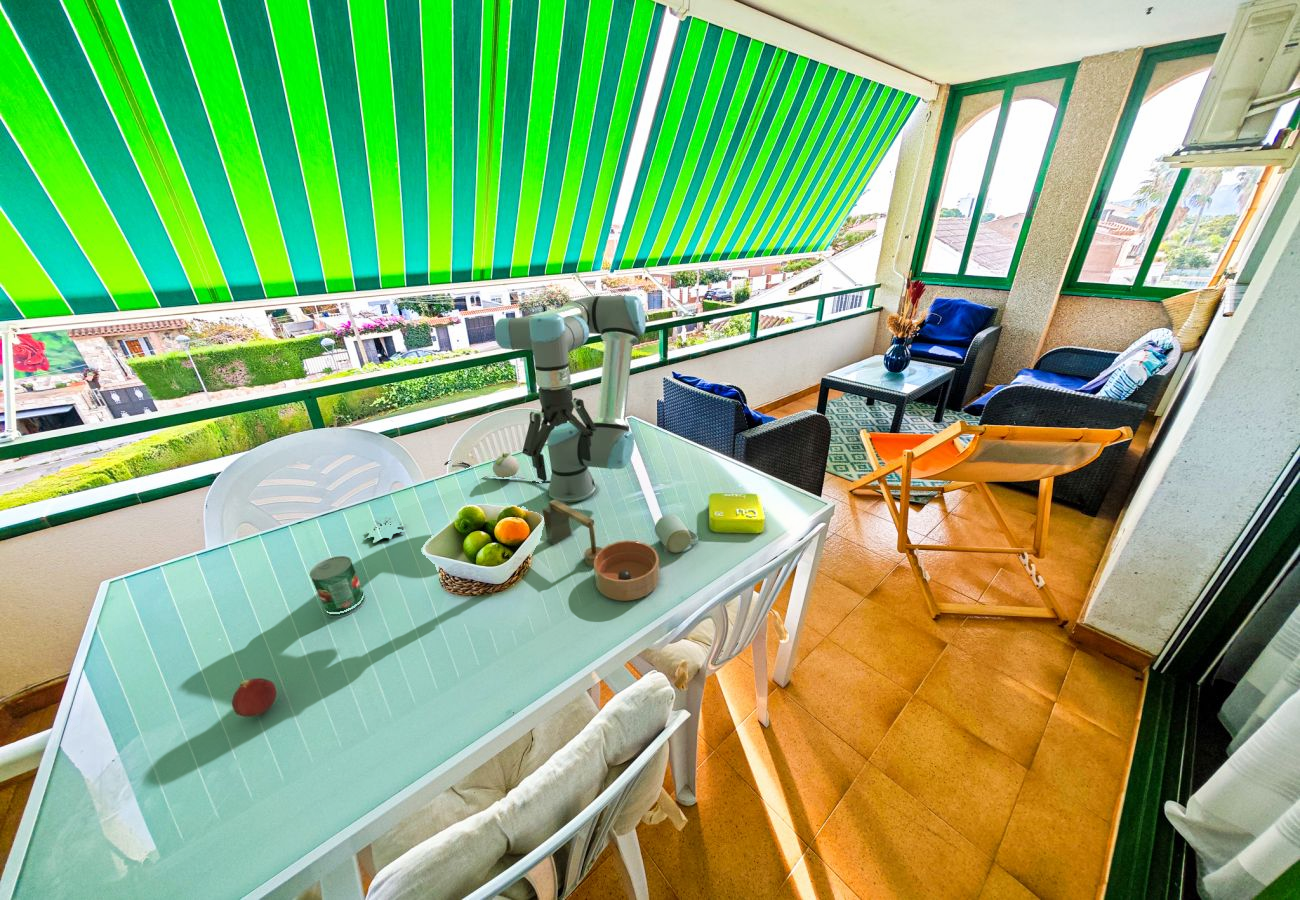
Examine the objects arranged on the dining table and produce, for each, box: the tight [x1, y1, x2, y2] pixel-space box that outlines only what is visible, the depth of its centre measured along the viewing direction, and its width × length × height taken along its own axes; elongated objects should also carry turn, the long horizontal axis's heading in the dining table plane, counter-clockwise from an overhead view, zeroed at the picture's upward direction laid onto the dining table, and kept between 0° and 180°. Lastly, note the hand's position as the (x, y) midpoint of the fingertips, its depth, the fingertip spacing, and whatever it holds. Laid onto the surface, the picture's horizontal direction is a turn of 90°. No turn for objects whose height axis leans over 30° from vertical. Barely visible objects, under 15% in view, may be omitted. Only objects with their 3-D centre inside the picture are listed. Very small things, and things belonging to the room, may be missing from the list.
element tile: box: [708, 492, 766, 534], centre depth 132 cm, size 15×15×5 cm
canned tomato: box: [309, 555, 366, 619], centre depth 104 cm, size 8×8×11 cm
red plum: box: [231, 677, 278, 718], centre depth 80 cm, size 6×6×8 cm
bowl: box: [593, 540, 660, 602], centre depth 109 cm, size 15×15×6 cm
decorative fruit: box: [492, 452, 520, 478], centre depth 159 cm, size 9×8×10 cm
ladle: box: [548, 499, 603, 567], centre depth 120 cm, size 18×5×12 cm, turn 47°
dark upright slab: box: [542, 500, 572, 546], centre depth 125 cm, size 3×6×10 cm, turn 137°
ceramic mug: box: [654, 513, 699, 554], centre depth 121 cm, size 11×8×8 cm
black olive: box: [618, 570, 631, 580], centre depth 108 cm, size 3×3×3 cm
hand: (565, 468), depth 113 cm, fingers open, 13 cm apart
